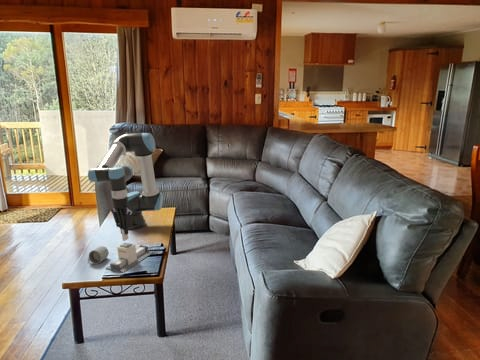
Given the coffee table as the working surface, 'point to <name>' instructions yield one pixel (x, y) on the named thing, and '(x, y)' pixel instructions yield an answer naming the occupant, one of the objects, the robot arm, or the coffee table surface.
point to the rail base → (123, 263)
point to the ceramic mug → (98, 255)
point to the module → (127, 252)
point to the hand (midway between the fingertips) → (125, 239)
